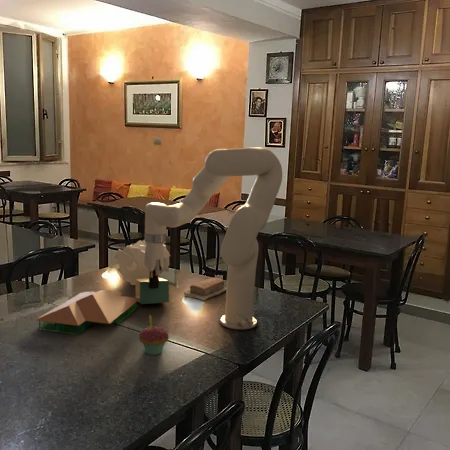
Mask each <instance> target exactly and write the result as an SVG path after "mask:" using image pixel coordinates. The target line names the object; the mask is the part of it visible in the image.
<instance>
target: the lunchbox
mask: <svg viewBox="0 0 450 450" xmlns="http://www.w3.org/2000/svg"><path fill="white" fill-rule="evenodd" d="M169 285H170V284H169V280H168V279H165V278H163V277H159V287H158V288H154V289H150V288H149V278H147V279H135V285H134V286H135V289H134V290H135V297H136V298H137V299H140V300H138V301H137V302H138V303H139V304H140V305H148V304H149V305H150V304H151V305H152V304H162V303H170V289H169V288H170V287H169Z"/></svg>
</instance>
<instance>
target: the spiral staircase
mask: <svg viewBox="0 0 450 450" xmlns="http://www.w3.org/2000/svg"><path fill="white" fill-rule="evenodd" d="M145 246H146V243H145V239H143V240H141V239H139V240H138V241H136V242H135V243H134V244H130V245H126V247H124V248H122V249H120V248H118V250H117V251H116V254H115V256H114V259H116V260H117V262H118V266H119V267H118V269H117V271H118V272H119V273H120V275H121V276H122V281H125V282H128V283H130V286H135V279H147V278H149V277H151V276H149V270H148V269H147V268H146V267H145V265H144V257H145ZM163 247H164V264H163V270H162V271H160V275H162V273H164V271H168V269H169V267H170V265H171V263H170V257H171V254H170V252H169V250H168V249H167V245H166V244H165V243H163Z"/></svg>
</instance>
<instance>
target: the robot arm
mask: <svg viewBox="0 0 450 450" xmlns="http://www.w3.org/2000/svg"><path fill="white" fill-rule="evenodd" d="M245 176H246V177H248V176H256V177H255V181H254V182H253V185H252V186H251V189H250V192H249V195H248V196H247V197H248V198H247V200H246V202H245V204H243V205H242V206H241V207H238V209H236V210H235V212H234V213H233V215H232V217H231V219H230V221H229V224H228V227H227V229H226V232H225V235H224V237H223V241H222V242H221V245H220V257H221V259H222V261H223V262H224V263H225V264H226V265H227V274H226V292H225V307H224V309H225V311H224V313H225V314H224V315H222V316H221V317H220V321H219V322H220V325H222V326H223V327H226V328H228V329H231V330H240V331H241V330H250V329H253V328H255V327H256V326H257V325H258V320H257V319H256V318H255V317H254V305H255V302H254V301H255V290H256V289H255V288H256V275H257V273H256V272H257V264H258V257H259V252H260V251H259V249H260V248H259V247H260V246H259V242H258V239H257V237H258V234H259V232H260V231H262V230H263V229H264V228H265V227H266V226H267V224H268V220H269V218H270V215H271V213H272V210H273V208H274V204H275V202H276V198H277V196H278V194H279V191H280V188H281V185H282V181H283V167H282V164H281V162H280V160H279V158H278V157H277V155H276V154H275V153H274V152H273V151H271V150H270V149H269V148H266V147H261V146H260V147H242V148H217V149H214V150H211V151H210V152H209V153H207V155H206V157H205V160H204V166H203V167H202V168H201V169H200V170H199V171H198V172H197V174H196V175H195V176H193V178H192V181H191V183H192V187H191V189H190V191H189V192H188V193H187V195H186V196H185V197H183V199H182V200H181V201H180V202H179V203H175V204H171V205H167V204H165V203H162V202H150V203H149V202H147V204H146V206H145V210H144V211H145V213H144V214H145V215H144V240H145V243H146V246H145V257H144V265H145V267H146V268H147V269H148V270H149V276H151V277H149V288H150V289H154V288H158V287H159V278H160V275H161V274H160V271H162V270H163V264H164V247H163V244H166V242H167V227H168V228H177V227H181V226H182V225H185V224H188V223H189V222H191V221H192V220H193V219H195V217H196V216H197V215H199V213H200V212H201V211H202V210H203V209H204V208H205V206H207V203H208V202H209V201H210V199H211V198H212V196H213V195H214V194H215V193H216V192H217V191H218V190H219V189H220V187H221V186H222V185H224V184H225V183H226V181H227V180H228V179H229V178H231V177H245Z"/></svg>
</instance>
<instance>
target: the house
mask: <svg viewBox="0 0 450 450" xmlns="http://www.w3.org/2000/svg"><path fill="white" fill-rule="evenodd" d="M131 297H132V296H124V295H123V292H120V291H113V290H107V289H98V290H97V291H81V292H79V293H78V294H76V295H74V296H73V297H71V298H70V299H68V300H66V301H64V302H63V303H61V304H59V305H57V306H55V307H54V308H53V309H51V310H49V311H47V312H46V313H44V314H42V315H41V316H39V317H38V318H35V321H38V329H39V330H43V331H49V332H50V331H51V332H58V333H65V334H72V335H79V334H80V333H81V332H83V331H84V330H86V329H87V328H88V327H90V326H91V325H92V324H93V325H96V324H100V325H103V326H104V325H108V326H109V327H112V323H114V322H115V321H116V320H119V321H118V324H120V323H121V322H122V321H123V319H121V317H124V319H126V318H127V317H128V316H129V314H128V311H130V313H133V312H135V310H136V309H137V307H138V304H137V302H138V300H140V299H137V298H131ZM86 324H87V325H86ZM48 325H49V327H53V329H48ZM70 326H71V327H72V330H74V332H70V331H69V330H70ZM45 327H46V328H45ZM61 328H62V330H61ZM66 329H67V331H68V332H67V331H66ZM79 329H80V331H79Z"/></svg>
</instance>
